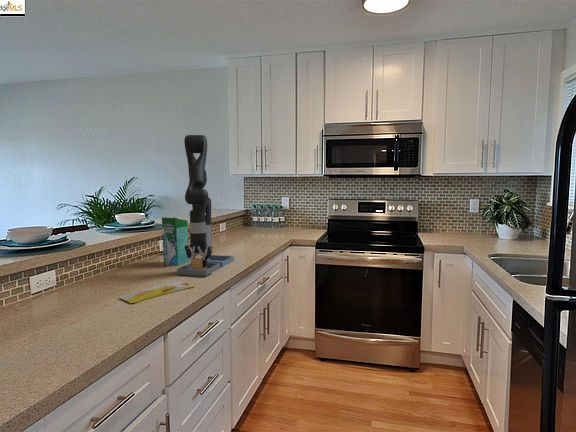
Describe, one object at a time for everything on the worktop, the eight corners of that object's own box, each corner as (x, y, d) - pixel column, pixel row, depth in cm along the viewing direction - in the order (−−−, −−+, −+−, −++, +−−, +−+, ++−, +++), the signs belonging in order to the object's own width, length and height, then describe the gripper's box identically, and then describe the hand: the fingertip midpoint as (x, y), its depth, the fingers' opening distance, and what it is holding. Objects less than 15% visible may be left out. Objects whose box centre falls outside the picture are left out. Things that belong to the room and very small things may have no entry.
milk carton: (189, 263, 196) (187, 216, 193) (177, 266, 187) (175, 217, 185) (175, 261, 199) (173, 215, 197) (163, 265, 191) (161, 217, 188)
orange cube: (191, 269, 175) (191, 258, 174) (197, 266, 179) (196, 256, 179) (201, 269, 173) (201, 259, 173) (206, 267, 178) (206, 256, 177)
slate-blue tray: (196, 266, 188) (195, 260, 187) (209, 260, 202) (209, 254, 201) (222, 268, 184) (222, 262, 183) (234, 261, 198) (234, 256, 197)
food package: (130, 300, 132) (118, 294, 139) (131, 306, 132) (118, 300, 139) (195, 283, 153) (181, 279, 159) (195, 288, 153) (182, 284, 159)
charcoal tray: (177, 275, 171) (177, 268, 171) (193, 267, 185) (193, 261, 185) (205, 277, 167) (205, 270, 167) (220, 269, 181) (220, 263, 181)
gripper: (180, 232, 173) (181, 268, 175) (207, 233, 169) (209, 269, 171) (188, 230, 180) (190, 264, 182) (215, 230, 176) (216, 266, 178)
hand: (199, 266), depth 176 cm, fingers closed on orange cube, 4 cm apart
